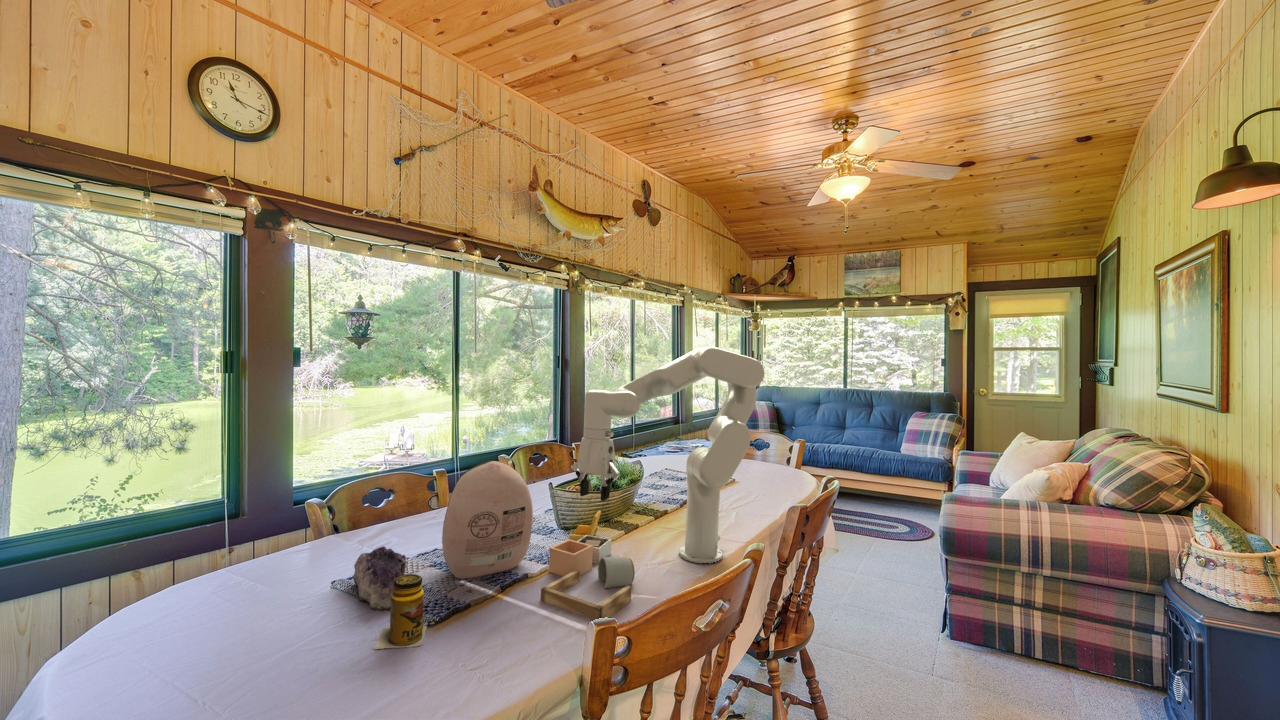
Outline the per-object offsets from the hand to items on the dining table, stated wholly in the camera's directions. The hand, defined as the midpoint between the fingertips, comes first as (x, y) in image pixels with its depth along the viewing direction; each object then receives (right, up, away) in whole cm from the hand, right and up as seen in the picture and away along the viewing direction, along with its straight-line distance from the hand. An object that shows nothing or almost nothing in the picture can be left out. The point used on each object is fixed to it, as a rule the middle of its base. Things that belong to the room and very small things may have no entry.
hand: (594, 496), depth 150 cm
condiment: (-35, -17, -43) cm, 58 cm away
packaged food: (-27, -17, -12) cm, 34 cm away
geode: (-48, -17, -24) cm, 56 cm away
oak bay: (+1, -18, -25) cm, 31 cm away
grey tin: (-1, -18, 0) cm, 18 cm away
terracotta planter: (-5, -18, -10) cm, 21 cm away
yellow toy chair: (-5, -18, +14) cm, 23 cm away
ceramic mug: (+6, -19, -15) cm, 24 cm away
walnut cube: (-1, -17, 0) cm, 17 cm away
